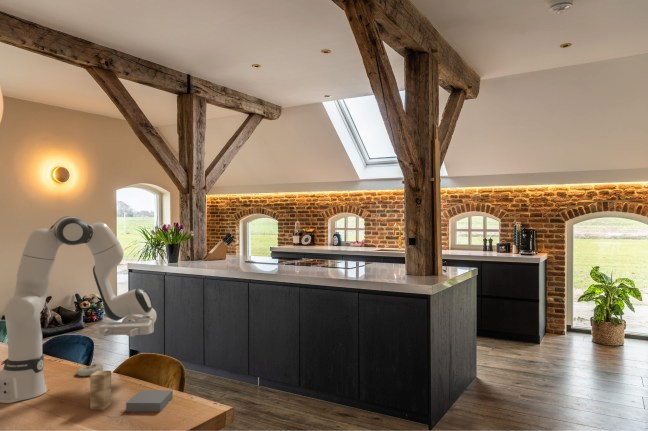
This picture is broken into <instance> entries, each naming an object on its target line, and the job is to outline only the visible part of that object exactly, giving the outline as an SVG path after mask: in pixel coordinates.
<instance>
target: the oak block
mask: <svg viewBox="0 0 648 431" xmlns="http://www.w3.org/2000/svg"><path fill="white" fill-rule="evenodd" d="M89 377H90V378H89V382H90V384H89V385H90V387H89V389H90V390H89V391H90V392H89V394H90V396H89V398H90V399H89V400H90V402H89V404H90V406H89V408H90V410H106V409H107V408H109V406H110V405H112V370H102V371H96V372H95V373H93V374H91V375H90V376H89Z"/></svg>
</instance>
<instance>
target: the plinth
mask: <svg viewBox="0 0 648 431" xmlns="http://www.w3.org/2000/svg"><path fill="white" fill-rule="evenodd" d="M173 394H174V392H173V390H171V389H157V390H156V389H140V390H139V391H138V392H137V393H136V394H134V395H133V396H132V397H131V398H130V399H129V400H128V401H127V402H125V403H126V404H125V406H126V407H125V408H126V409H125V410H126V412H136V413H137V412H138V413H139V412H140V413H141V412H146V413H147V412H154V413H156V412H157V413H161V412H162V411H163V409H165V407H167V405H168V404H169V403H170V402H171V401H172V400H173V399H172V398H173ZM171 399H172V400H171ZM170 400H171V401H170ZM169 401H170V402H169ZM168 402H169V403H168Z"/></svg>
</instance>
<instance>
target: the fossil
mask: <svg viewBox="0 0 648 431" xmlns="http://www.w3.org/2000/svg"><path fill="white" fill-rule="evenodd" d="M96 371H104V365H102V364H101V363H99V362H94V363H92V365H88V366H81V367H79V368H78V369H77V370H76V375H77V376H79V377H90V375H91V374H93V373H95V372H96Z"/></svg>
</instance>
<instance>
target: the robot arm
mask: <svg viewBox="0 0 648 431" xmlns="http://www.w3.org/2000/svg"><path fill="white" fill-rule="evenodd" d="M64 244H65V245H66V246H67V245H68V246H76V245H82V244H86V246H87V247H88V248H89V250H90V252H91V254H92V256H93V258H94V266H93V267H92V272H93V273H92V274H93V276H94V277H93V278H94V281H95V284H96V287H97V289H98V293H99V295H100V298H101V301H102V304H103V310H104V314H105V316H106V317H107V318H109V320H112V322H107V323H104V324H102V325H99V326H98V334H99V335H100V336H102V337H109V336H126V337H127V336H128V337H135V336H139V335H140V336H141V335H143V336H144V335H150V334H152V333H154V331H155V323H156V321H157V318H158V317H157V311H156V310H155V309H154V308H153V307H152V306H153V304H152V300H151V299H152V298H151V297H150V295H149V293H148V292H147V291H146V290H144V289H142V288H140V287H137V288H134V289H131V290H129V291H126V292H124V293H121V294H118V295H117V294H115V293H114V290H113V287H112V285H111V282H110V274H111V273H112V272H113V271H114V270H115V269H116V268H117V267H118V266H119V265H120V264H121V263H122V261H123V259H124V249H123V247H122V245H121V244H120V241H119V240H118V237H117V236H116V235H115V233H114V232H113V230H112V229H111V228H110V227H109V226H108V224H107V223H104V222H101V221H100V222H95V223H92V224H88V223H86V222H85V221H84V220H83V219H81V218H79V217H78V216H74V215H67V216H62V217H61V218H59V219H58V220H57V221H56V222H55V223H54V224H52V226H51V227H50V228H44V227H43V228H42V227H41V228H36V229H33V231H32V232H30V235H29V236H28V238H27V240H26V243H25V246H24V247H23V248H24V249H23V252H22V255H21V258H20V262H19V266H18V268H17V274H16V281H15V282H16V283H15V289H14V294H13V296H12V297H11V298H10V299H9V300H8V301H7V302H6V304H5V306H4V311H3V313H4V319H5V326H6V333H7V347H8V348H7V357H8V358H6V359H4V360H3V361H1V362H0V366H3V367H2V369H1V370H0V403H1V404H13V403H16V402H20V401H24V400H29V399H34V398H36V397H39V396H42V395H44V394H45V393H46V392H47V391H48V387H47V385H46V380H45V376H44V375H45V374H44V366H45V365H44V360H45V359H44V357H45V356H44V354H43V333H42V324H41V312H42V311H43V310H44V308H45V304H46V300H47V295H48V292H49V286H50V280H51V276H52V271H53V268H54V265H55V260H56V256H57V252H58V251H59V248H60V247H61V246H62V245H64ZM120 320H122V321H121V322H120ZM114 321H115V322H114ZM118 321H119V322H118Z"/></svg>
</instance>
